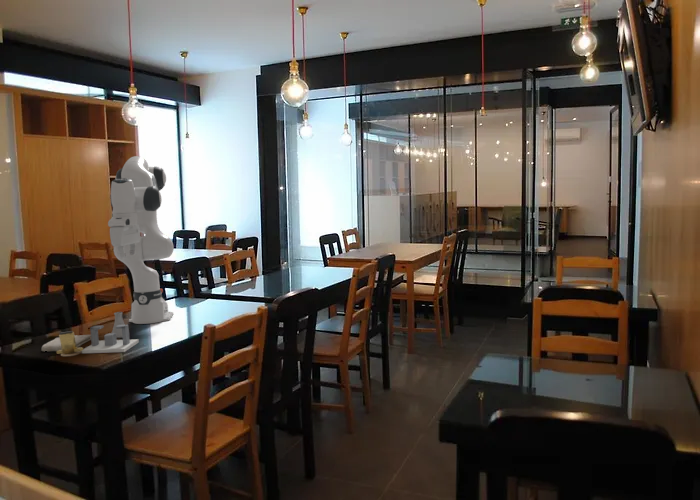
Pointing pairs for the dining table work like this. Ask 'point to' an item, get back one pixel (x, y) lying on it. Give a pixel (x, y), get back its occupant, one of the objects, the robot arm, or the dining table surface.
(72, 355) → the cork coaster
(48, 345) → the washcloth
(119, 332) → the flask
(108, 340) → the white peg board
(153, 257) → the robot arm
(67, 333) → the bayonet cap
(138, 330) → the dining table surface
